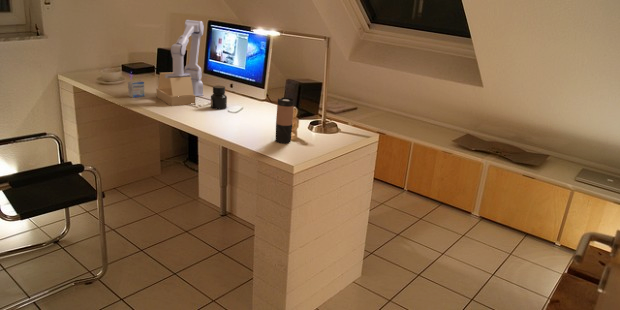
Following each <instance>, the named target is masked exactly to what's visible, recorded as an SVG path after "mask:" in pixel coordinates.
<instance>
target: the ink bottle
mask: <svg viewBox="0 0 620 310" xmlns="http://www.w3.org/2000/svg"><path fill="white" fill-rule="evenodd" d="M227 102H228V97H227V95H226V86H225V85H220V84H218V85H213V86H212V94H211V95H210V108H211V109H216V110H225V109H227V104H228V103H227Z"/></svg>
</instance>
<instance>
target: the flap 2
mask: <svg viewBox="0 0 620 310" xmlns="http://www.w3.org/2000/svg"><path fill="white" fill-rule="evenodd" d="M170 83H171V89H172V96H186V95H194V94H193V87H192V80H191V77H177V78H170Z"/></svg>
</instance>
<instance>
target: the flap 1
mask: <svg viewBox="0 0 620 310" xmlns="http://www.w3.org/2000/svg"><path fill="white" fill-rule="evenodd" d="M172 73H173V71H172V72H171V71H170V72H168V71H167V72H159V80H158V87H157V89H159V88H171V83H170V78H165V74H172Z"/></svg>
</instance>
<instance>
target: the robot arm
mask: <svg viewBox="0 0 620 310" xmlns="http://www.w3.org/2000/svg"><path fill="white" fill-rule="evenodd" d="M204 29H205V26H204V22H203V21H202V20H194V19H193V20H192V19H191V20H190V19H186V20H185V21H184V30H183V32H182V35H179V36H178V38H177V40H176V42H175V43H173V44H172V45H171V46H170V47H171V48H170V54H171V58H172V72H173V73H172V74H165V78H177V77H191V80H192V87H193V94H194V95H195V97H201V96H204V83H203V81H202V75H203V73H202V71H203V70H202V67H201V66H200V65H199V64H198V62H199V54H200V52H199V51H200V44H201V37H203V35H204ZM190 37H191V43H190V51H189V59H188V60H189V62H188V63H187V64H186V65H185V66H184V56H185V54H186V51H187V46H188V44H189V42H190V39H189V38H190Z"/></svg>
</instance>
